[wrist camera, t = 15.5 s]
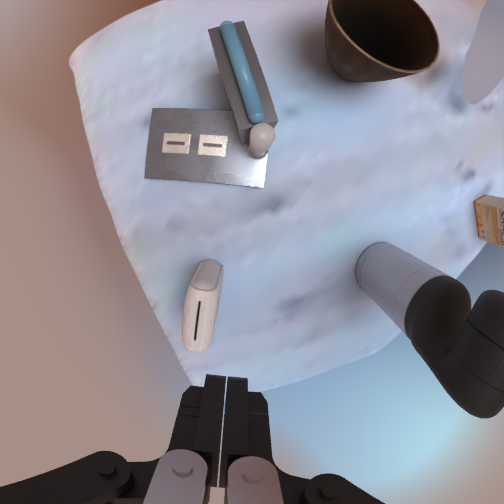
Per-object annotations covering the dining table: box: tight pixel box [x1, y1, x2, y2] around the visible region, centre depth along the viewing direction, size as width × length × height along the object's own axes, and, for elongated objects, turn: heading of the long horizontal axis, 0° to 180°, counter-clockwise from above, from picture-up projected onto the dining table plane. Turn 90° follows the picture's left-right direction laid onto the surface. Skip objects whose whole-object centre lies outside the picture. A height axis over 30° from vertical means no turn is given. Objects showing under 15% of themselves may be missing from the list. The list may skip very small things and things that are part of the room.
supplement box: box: [474, 195, 504, 247], centre depth 37 cm, size 8×5×13 cm, turn 23°
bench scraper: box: [208, 21, 278, 157], centre depth 30 cm, size 15×4×14 cm, turn 16°
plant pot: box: [325, 0, 439, 82], centre depth 29 cm, size 15×15×16 cm
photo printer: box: [182, 260, 223, 352], centre depth 40 cm, size 10×4×12 cm, turn 169°
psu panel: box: [145, 108, 268, 188], centre depth 40 cm, size 18×11×2 cm, turn 84°
